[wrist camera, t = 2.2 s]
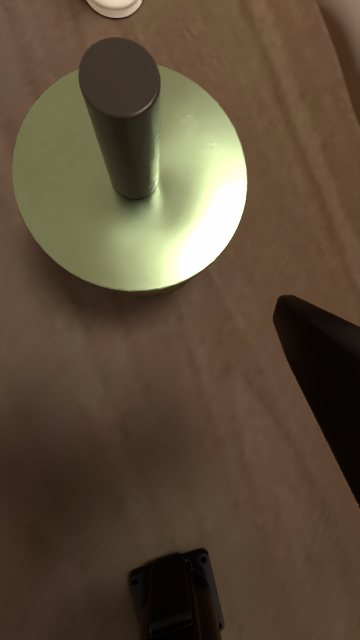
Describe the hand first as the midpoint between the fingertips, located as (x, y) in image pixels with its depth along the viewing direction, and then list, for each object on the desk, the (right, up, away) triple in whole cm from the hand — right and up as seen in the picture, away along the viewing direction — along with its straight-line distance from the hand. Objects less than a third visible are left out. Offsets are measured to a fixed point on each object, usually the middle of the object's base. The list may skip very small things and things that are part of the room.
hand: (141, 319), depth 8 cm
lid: (-1, +8, +6) cm, 10 cm away
